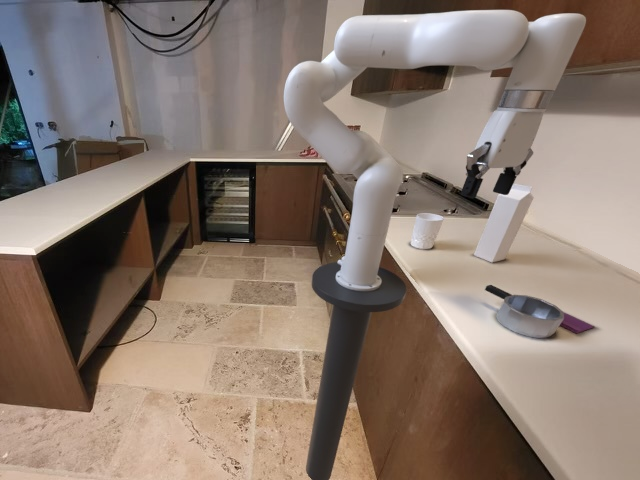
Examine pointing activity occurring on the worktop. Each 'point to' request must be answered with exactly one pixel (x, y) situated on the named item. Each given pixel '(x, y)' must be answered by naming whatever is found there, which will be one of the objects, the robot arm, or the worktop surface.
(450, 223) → the worktop surface
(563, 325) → the purple flat block
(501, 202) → the milk
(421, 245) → the white cup
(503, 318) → the pan
